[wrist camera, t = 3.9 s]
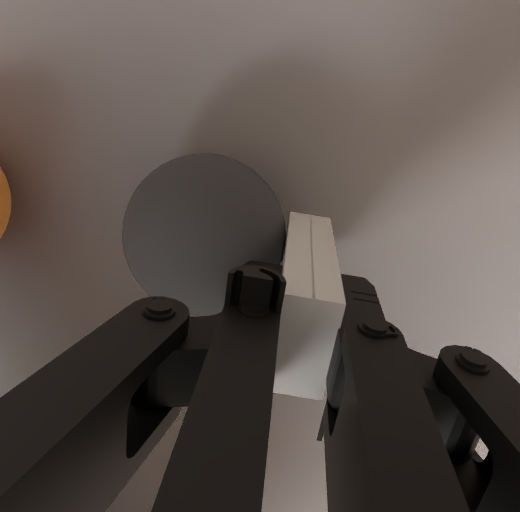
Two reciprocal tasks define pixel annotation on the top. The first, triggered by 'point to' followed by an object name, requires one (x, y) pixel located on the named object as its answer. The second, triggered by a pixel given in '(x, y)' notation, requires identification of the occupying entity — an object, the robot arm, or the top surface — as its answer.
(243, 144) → the top surface
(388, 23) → the top surface
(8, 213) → the object ball
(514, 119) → the top surface
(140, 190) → the dark gray ball
